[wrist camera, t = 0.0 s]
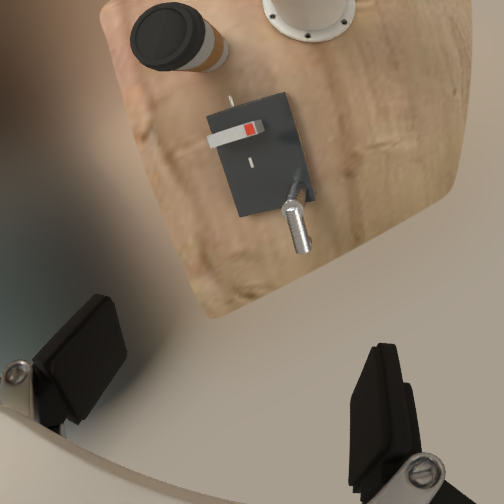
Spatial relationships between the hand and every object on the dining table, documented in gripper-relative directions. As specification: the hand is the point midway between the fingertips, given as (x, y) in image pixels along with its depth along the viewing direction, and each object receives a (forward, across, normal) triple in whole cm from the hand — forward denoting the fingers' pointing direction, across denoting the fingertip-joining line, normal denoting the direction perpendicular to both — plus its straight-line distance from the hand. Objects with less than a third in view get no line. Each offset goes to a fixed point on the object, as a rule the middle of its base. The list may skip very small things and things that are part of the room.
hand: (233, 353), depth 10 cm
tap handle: (+33, +8, -4) cm, 34 cm away
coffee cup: (+37, +14, -16) cm, 43 cm away
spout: (+33, -1, +5) cm, 34 cm away
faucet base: (+37, +5, -1) cm, 37 cm away
